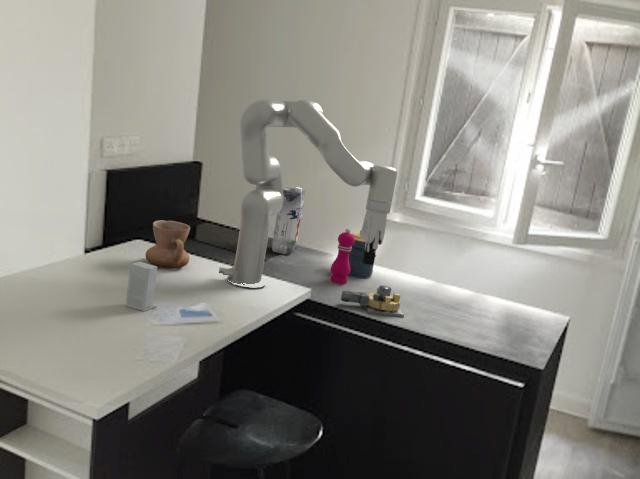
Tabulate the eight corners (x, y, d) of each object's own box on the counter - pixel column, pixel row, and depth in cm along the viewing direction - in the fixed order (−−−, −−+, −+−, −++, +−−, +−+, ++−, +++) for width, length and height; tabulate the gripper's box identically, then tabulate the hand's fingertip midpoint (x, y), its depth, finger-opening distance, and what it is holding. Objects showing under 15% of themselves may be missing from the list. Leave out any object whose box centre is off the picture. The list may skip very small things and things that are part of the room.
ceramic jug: (137, 257, 236) (142, 217, 232) (178, 257, 243) (183, 219, 240) (154, 274, 221) (159, 232, 218) (196, 274, 229) (202, 233, 226)
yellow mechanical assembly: (344, 305, 219) (346, 292, 218) (337, 294, 230) (339, 282, 229) (402, 312, 223) (404, 299, 222) (392, 301, 234) (395, 289, 233)
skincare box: (152, 308, 190) (158, 266, 187) (144, 311, 186) (149, 269, 183) (133, 302, 192) (139, 261, 189) (124, 306, 188) (130, 263, 185)
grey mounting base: (367, 313, 221) (372, 290, 219) (359, 301, 232) (363, 279, 231) (403, 317, 223) (408, 295, 222) (393, 305, 235) (397, 284, 233)
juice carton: (269, 251, 277) (280, 185, 272) (275, 246, 287) (286, 183, 282) (291, 256, 276) (302, 190, 270) (296, 251, 286) (307, 187, 281)
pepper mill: (346, 286, 247) (356, 232, 243) (326, 281, 249) (336, 227, 245) (349, 281, 254) (359, 229, 250) (330, 277, 256) (340, 224, 252)
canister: (377, 276, 270) (386, 232, 267) (361, 280, 259) (370, 235, 256) (349, 266, 277) (357, 224, 273) (332, 270, 266) (341, 226, 262)
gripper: (361, 200, 218) (350, 256, 221) (372, 209, 203) (361, 269, 207) (383, 203, 219) (373, 259, 223) (397, 212, 205) (385, 271, 209)
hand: (367, 263), depth 215 cm, fingers closed
